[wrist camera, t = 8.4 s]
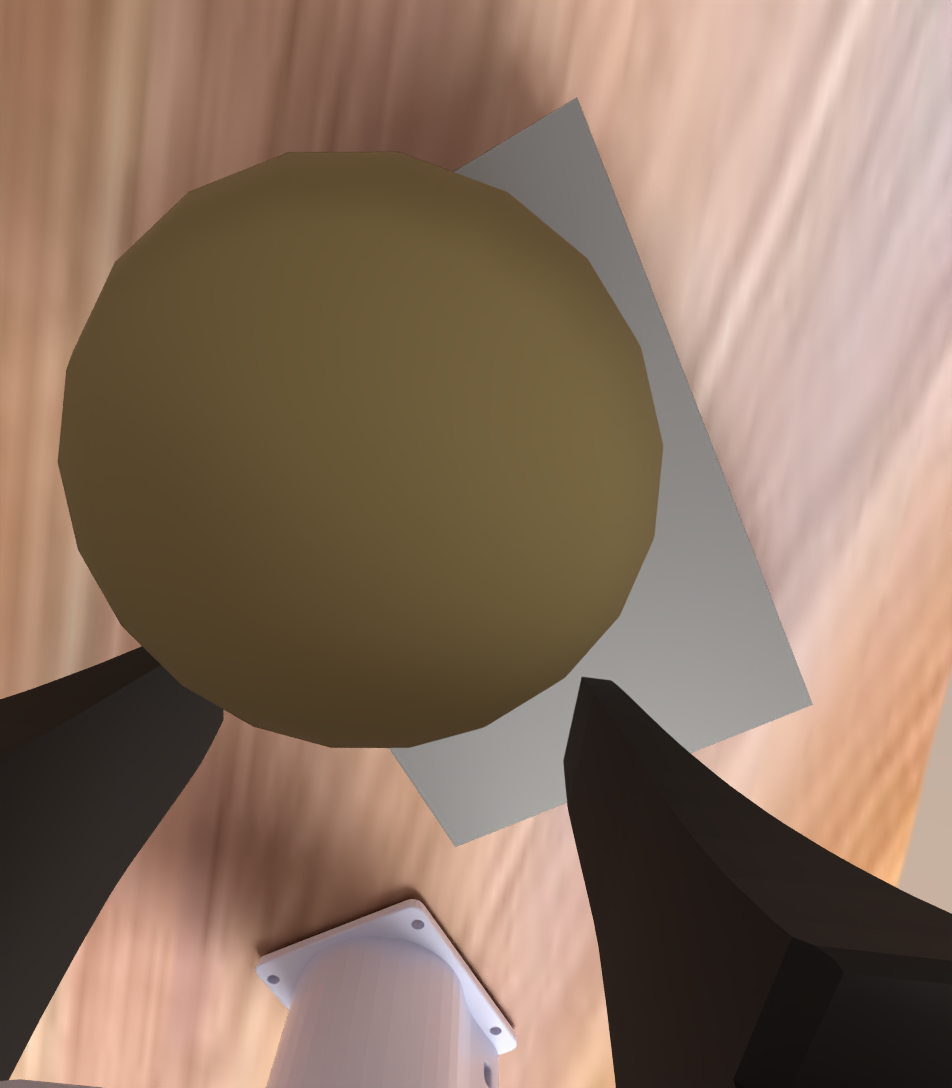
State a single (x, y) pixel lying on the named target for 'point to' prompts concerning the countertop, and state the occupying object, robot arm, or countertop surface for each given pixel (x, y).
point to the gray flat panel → (669, 567)
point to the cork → (360, 449)
